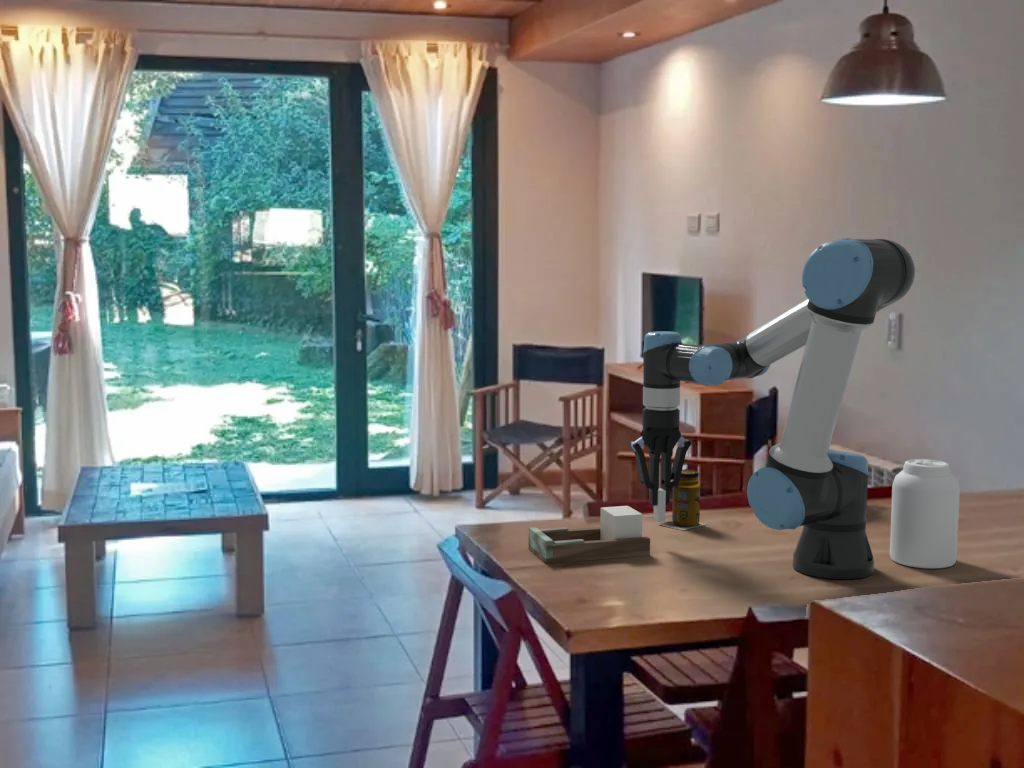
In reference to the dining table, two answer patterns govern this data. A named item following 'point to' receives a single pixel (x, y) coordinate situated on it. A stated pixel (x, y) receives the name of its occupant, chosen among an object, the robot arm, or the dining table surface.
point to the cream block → (620, 523)
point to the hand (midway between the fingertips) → (659, 520)
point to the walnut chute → (582, 545)
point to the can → (924, 515)
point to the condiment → (686, 502)
